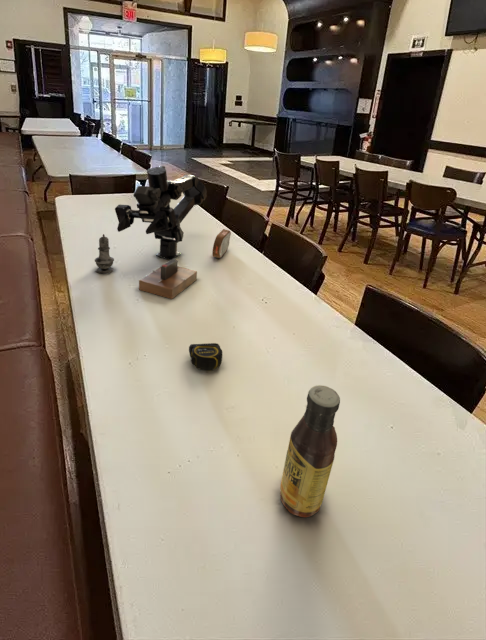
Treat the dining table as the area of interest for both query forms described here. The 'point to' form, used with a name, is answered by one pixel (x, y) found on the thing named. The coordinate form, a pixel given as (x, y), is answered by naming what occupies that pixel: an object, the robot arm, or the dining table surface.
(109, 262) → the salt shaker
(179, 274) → the wooden block
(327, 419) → the sauce bottle
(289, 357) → the dining table surface
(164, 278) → the dark grey block
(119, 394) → the dining table surface
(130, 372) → the dining table surface
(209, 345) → the tape measure
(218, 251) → the brown white rounded block
